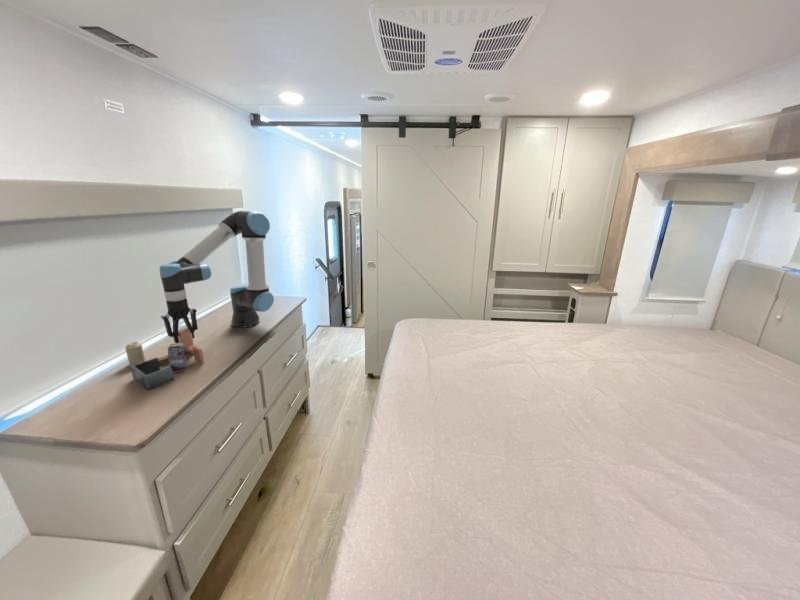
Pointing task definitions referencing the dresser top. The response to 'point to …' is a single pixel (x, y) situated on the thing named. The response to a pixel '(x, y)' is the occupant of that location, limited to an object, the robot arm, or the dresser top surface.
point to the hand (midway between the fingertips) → (186, 346)
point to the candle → (135, 353)
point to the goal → (151, 374)
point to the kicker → (190, 345)
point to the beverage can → (177, 357)
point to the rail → (165, 359)
